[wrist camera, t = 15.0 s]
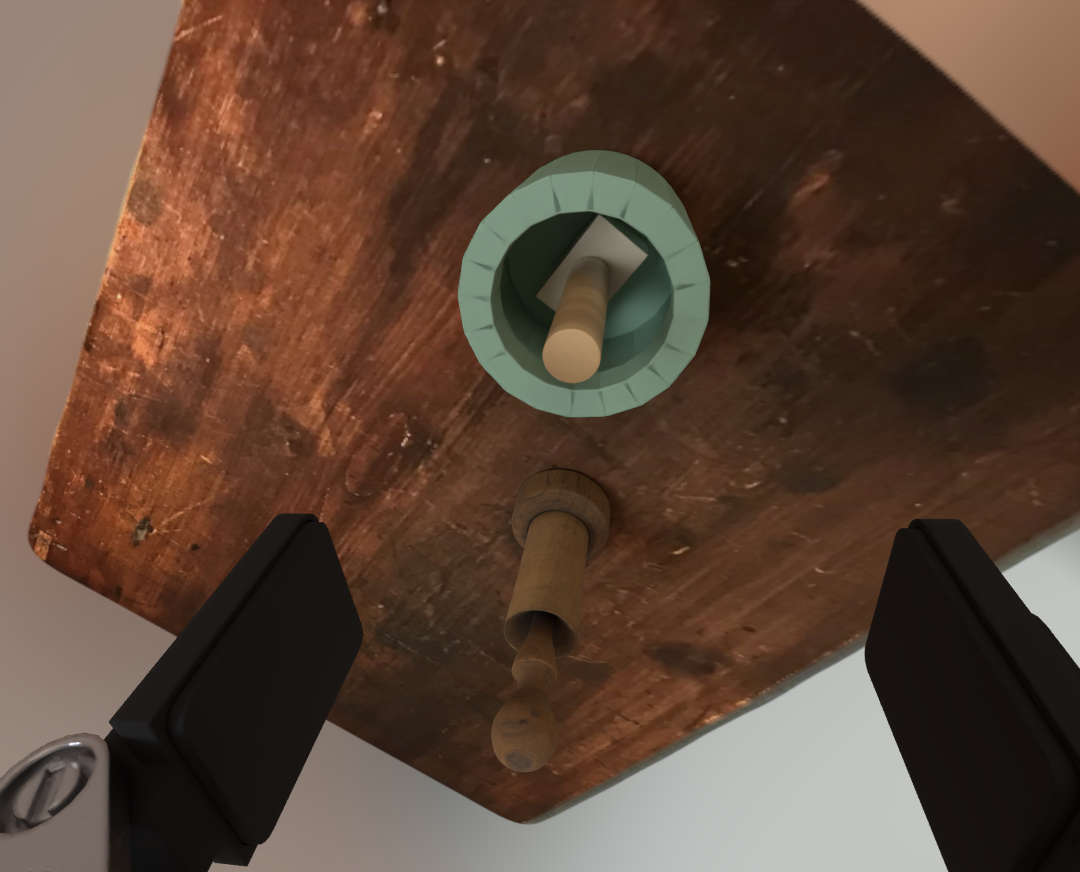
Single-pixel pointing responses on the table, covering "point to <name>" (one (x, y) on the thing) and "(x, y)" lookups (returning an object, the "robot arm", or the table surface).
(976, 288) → the table surface
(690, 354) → the jar
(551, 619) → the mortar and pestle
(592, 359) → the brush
